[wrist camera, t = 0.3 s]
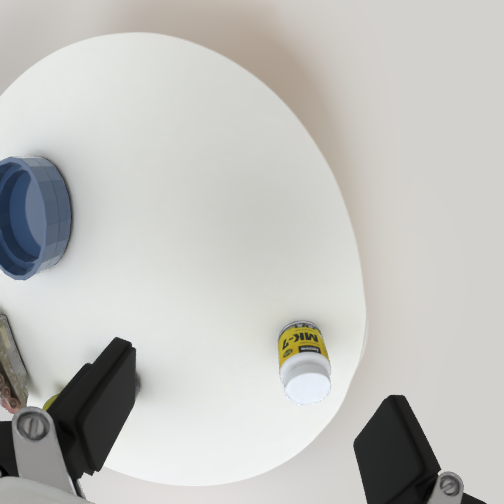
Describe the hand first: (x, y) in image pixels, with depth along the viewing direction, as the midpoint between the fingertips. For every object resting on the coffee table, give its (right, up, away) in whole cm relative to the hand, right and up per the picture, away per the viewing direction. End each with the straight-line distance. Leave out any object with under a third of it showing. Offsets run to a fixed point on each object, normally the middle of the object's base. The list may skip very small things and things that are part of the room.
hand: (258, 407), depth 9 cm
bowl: (-27, +10, +18) cm, 35 cm away
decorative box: (-43, -13, +26) cm, 52 cm away
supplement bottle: (+5, -4, +21) cm, 22 cm away
